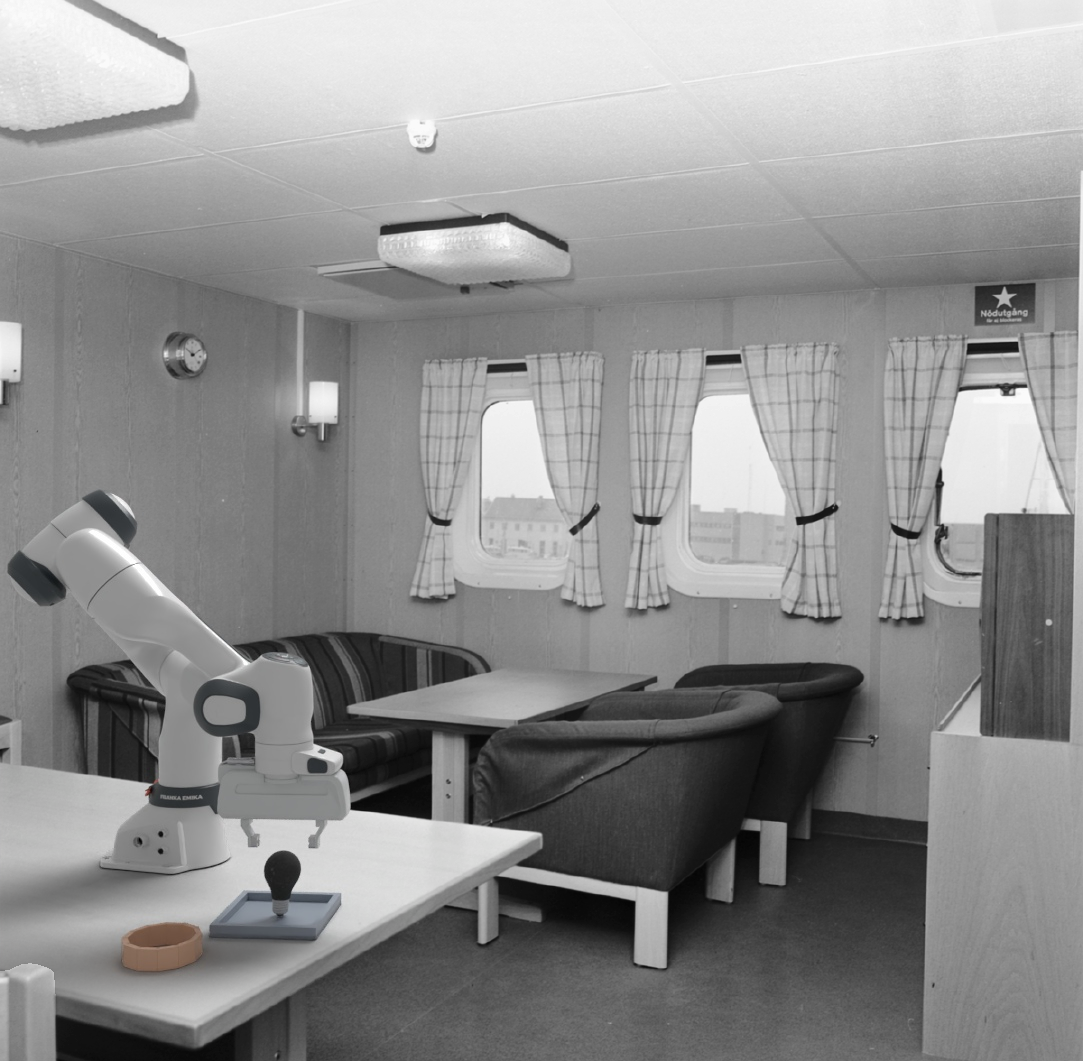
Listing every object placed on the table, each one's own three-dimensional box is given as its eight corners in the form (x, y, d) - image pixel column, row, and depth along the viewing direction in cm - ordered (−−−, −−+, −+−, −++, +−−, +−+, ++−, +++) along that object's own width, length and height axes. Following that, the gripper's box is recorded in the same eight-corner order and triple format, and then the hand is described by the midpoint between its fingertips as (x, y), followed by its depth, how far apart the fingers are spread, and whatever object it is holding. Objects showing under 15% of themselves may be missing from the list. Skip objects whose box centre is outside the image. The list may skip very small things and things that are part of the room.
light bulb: (264, 909, 183) (267, 845, 183) (300, 910, 184) (304, 846, 184) (258, 921, 178) (262, 854, 178) (296, 921, 178) (299, 855, 178)
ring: (109, 969, 161) (109, 948, 161) (140, 941, 171) (140, 921, 171) (184, 972, 160) (185, 950, 160) (211, 943, 170) (211, 923, 170)
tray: (209, 936, 173) (209, 924, 173) (243, 901, 189) (243, 890, 189) (315, 939, 172) (315, 927, 172) (341, 903, 188) (341, 892, 188)
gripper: (211, 761, 178) (211, 851, 178) (344, 763, 178) (344, 854, 178) (224, 752, 185) (223, 840, 185) (352, 754, 184) (352, 842, 184)
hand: (284, 847), depth 181 cm, fingers open, 8 cm apart
